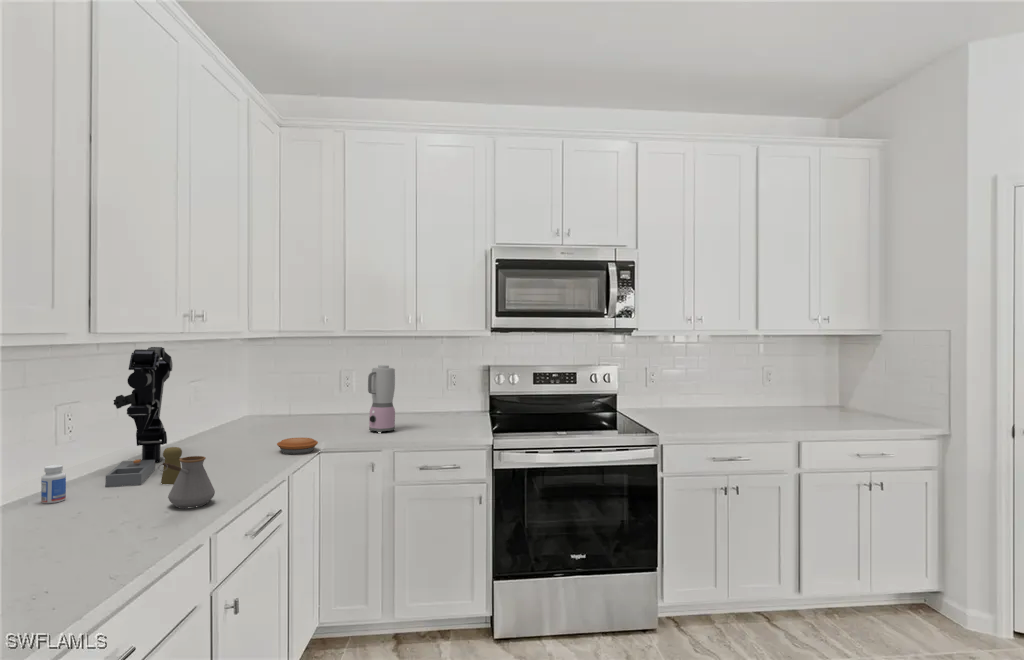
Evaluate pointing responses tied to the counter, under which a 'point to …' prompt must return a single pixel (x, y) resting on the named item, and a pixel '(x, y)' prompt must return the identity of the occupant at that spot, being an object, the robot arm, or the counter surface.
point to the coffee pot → (190, 483)
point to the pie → (297, 445)
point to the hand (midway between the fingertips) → (143, 432)
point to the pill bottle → (53, 484)
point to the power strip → (130, 473)
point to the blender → (382, 398)
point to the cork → (173, 458)
